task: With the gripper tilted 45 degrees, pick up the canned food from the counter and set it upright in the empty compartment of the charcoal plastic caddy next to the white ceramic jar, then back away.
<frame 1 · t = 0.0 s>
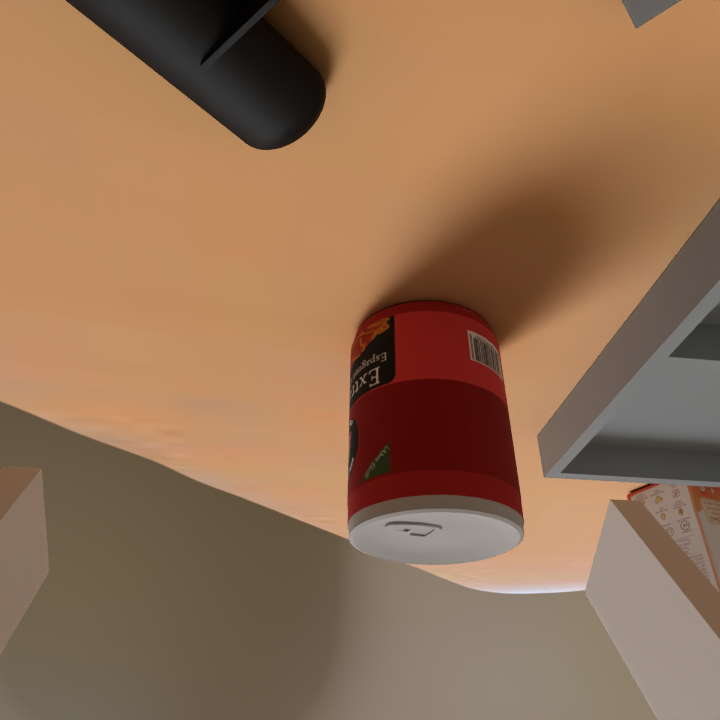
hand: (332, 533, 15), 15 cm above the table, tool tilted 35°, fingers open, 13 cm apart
canned food: (423, 338, 35), on the table
cracker box: (707, 496, 53), on the table
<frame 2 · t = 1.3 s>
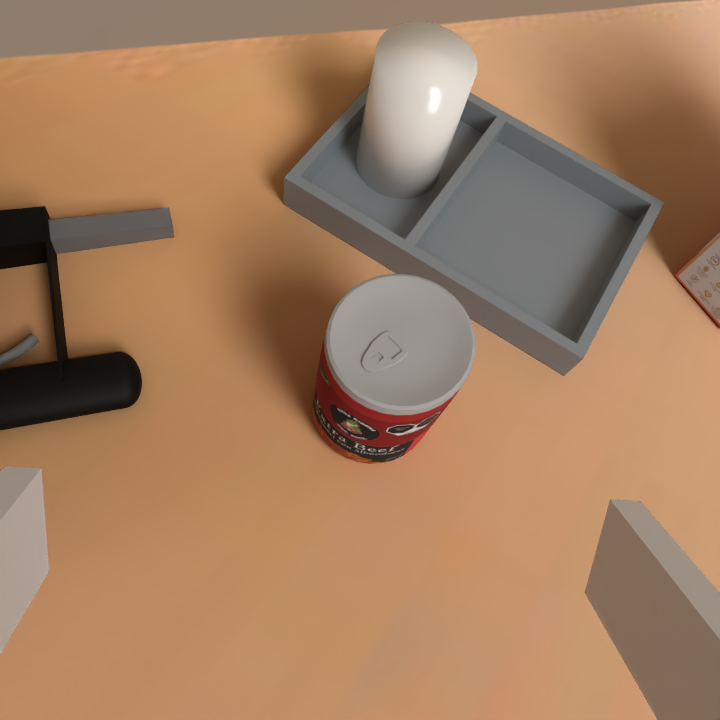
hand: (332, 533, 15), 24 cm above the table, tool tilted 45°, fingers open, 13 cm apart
toy submachine gun: (61, 290, 44), on the table
canned food: (370, 410, 43), on the table
ceramic jar: (398, 164, 50), resting on caddy
caddy: (470, 215, 50), on the table
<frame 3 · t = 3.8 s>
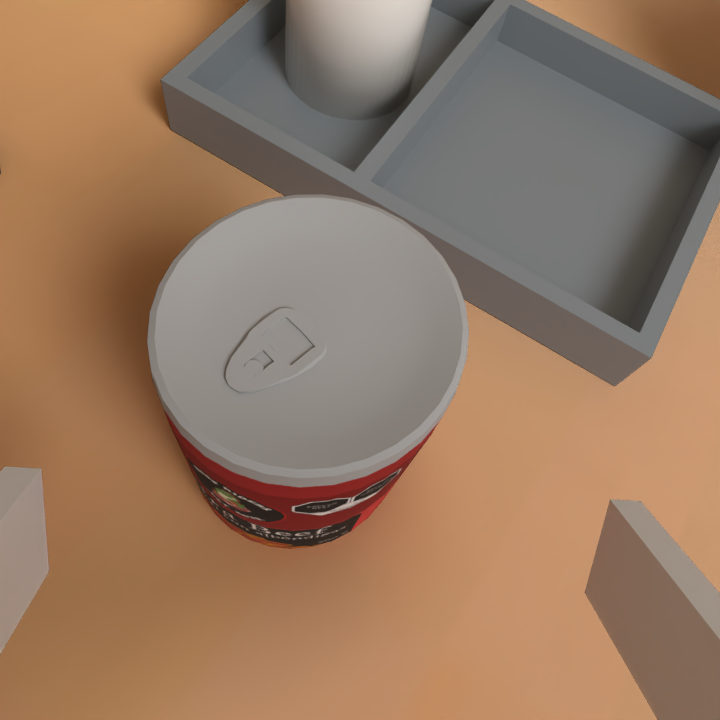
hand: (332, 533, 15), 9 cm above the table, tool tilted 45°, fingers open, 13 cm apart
canned food: (298, 451, 26), on the table
ceramic jar: (349, 71, 33), resting on caddy
caddy: (459, 145, 33), on the table
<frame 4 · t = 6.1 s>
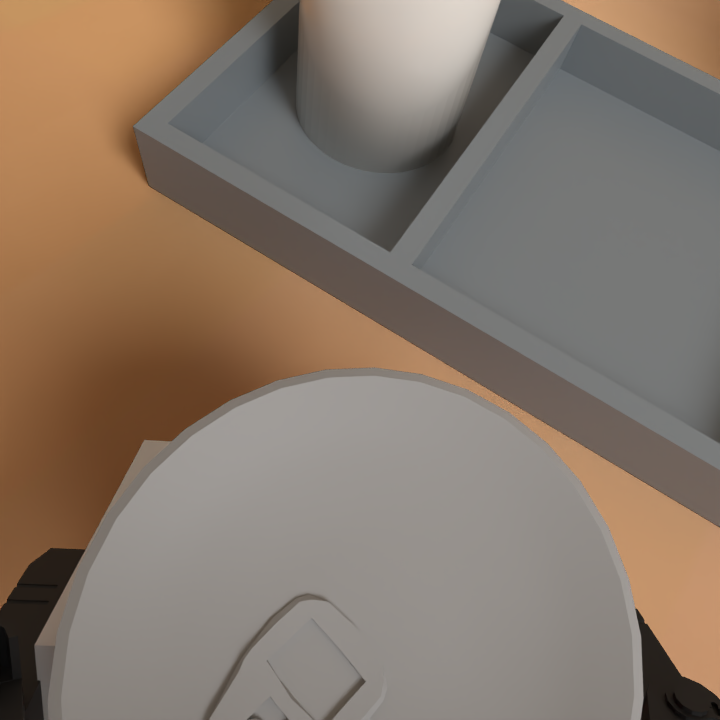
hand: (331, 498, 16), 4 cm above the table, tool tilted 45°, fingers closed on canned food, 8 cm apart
canned food: (315, 646, 18), on the table, touching gripper
ceramic jar: (377, 109, 26), resting on caddy
caddy: (517, 202, 26), on the table
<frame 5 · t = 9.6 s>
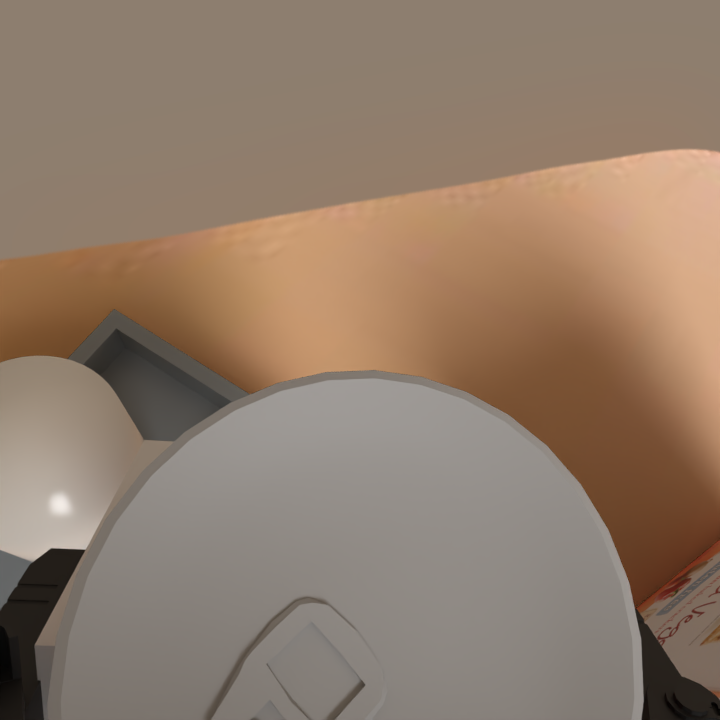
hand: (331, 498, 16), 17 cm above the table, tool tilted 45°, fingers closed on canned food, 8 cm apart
canned food: (315, 648, 18), point 13 cm above the table, touching gripper
ceramic jar: (99, 506, 31), resting on caddy
caddy: (216, 586, 31), on the table
cracker box: (680, 642, 32), on the table
when the fingers open (6 cm above the table, at t = 12.6 s): canned food drops 1 cm, resting on caddy.
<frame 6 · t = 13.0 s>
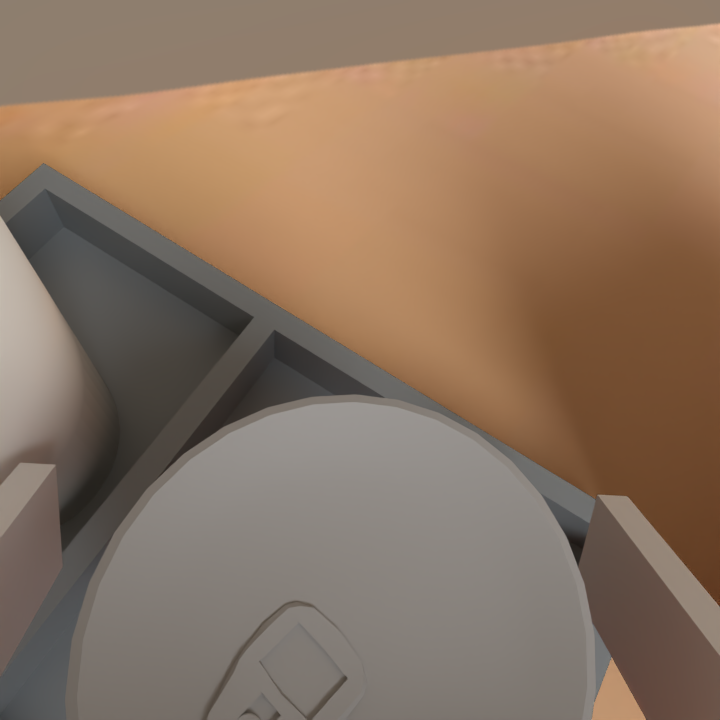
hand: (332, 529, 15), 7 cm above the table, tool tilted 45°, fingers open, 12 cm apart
canned food: (309, 649, 19), point 1 cm above the table, touching caddy
ceramic jar: (13, 440, 21), resting on caddy
caddy: (187, 561, 21), on the table
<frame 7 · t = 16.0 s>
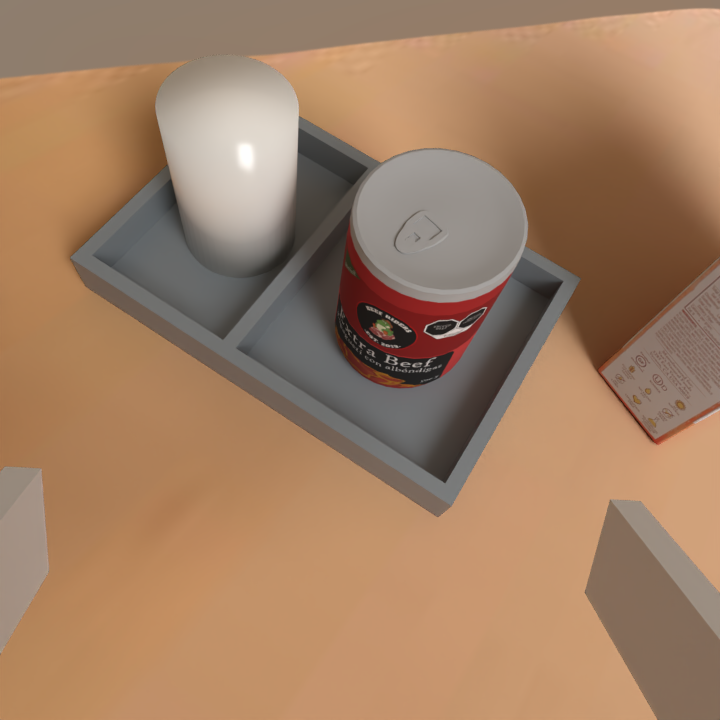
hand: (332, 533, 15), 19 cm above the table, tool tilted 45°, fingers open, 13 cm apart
canned food: (399, 332, 38), point 1 cm above the table, touching caddy
ceramic jar: (240, 231, 39), resting on caddy
caddy: (332, 295, 39), on the table
cracker box: (698, 356, 40), on the table
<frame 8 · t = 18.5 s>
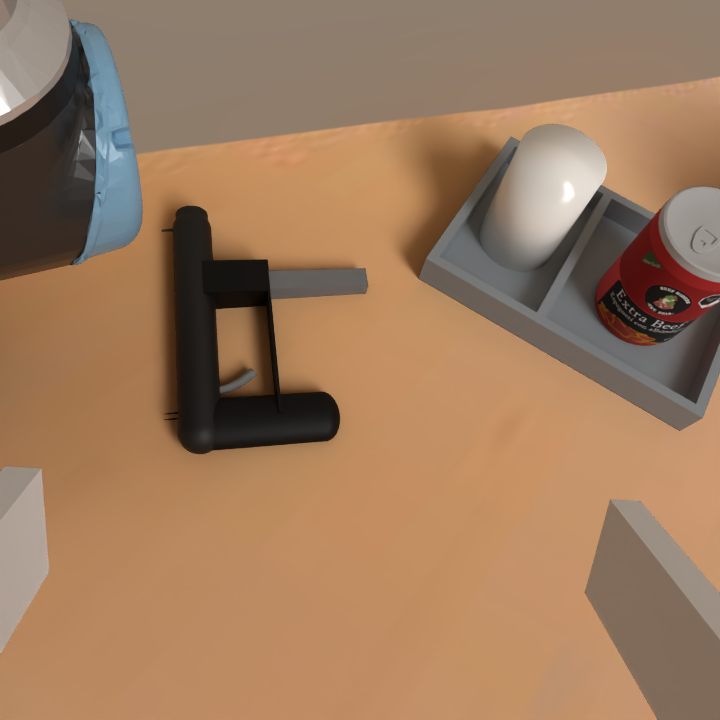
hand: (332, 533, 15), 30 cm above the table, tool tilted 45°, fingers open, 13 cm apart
toy submachine gun: (269, 331, 51), on the table
canned food: (634, 308, 54), point 1 cm above the table, touching caddy
ceramic jar: (516, 239, 56), resting on caddy
caddy: (582, 283, 55), on the table
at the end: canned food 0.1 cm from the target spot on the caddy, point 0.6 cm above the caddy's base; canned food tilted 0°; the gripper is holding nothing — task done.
